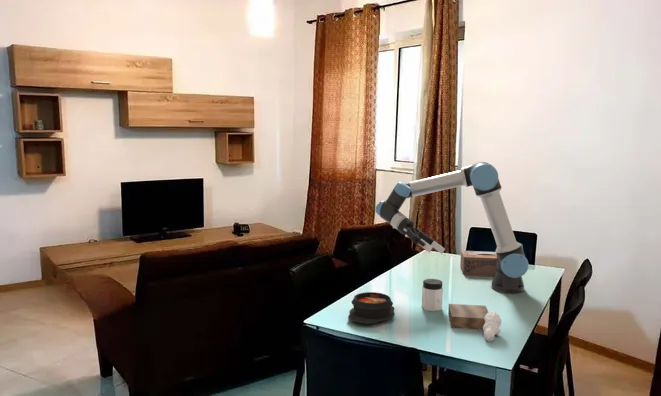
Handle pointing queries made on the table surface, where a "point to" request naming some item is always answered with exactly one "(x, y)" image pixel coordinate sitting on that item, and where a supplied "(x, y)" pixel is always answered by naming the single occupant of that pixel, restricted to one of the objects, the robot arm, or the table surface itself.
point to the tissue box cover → (478, 263)
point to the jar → (432, 294)
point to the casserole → (371, 308)
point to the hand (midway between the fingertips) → (437, 250)
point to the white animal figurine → (491, 326)
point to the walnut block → (467, 316)
